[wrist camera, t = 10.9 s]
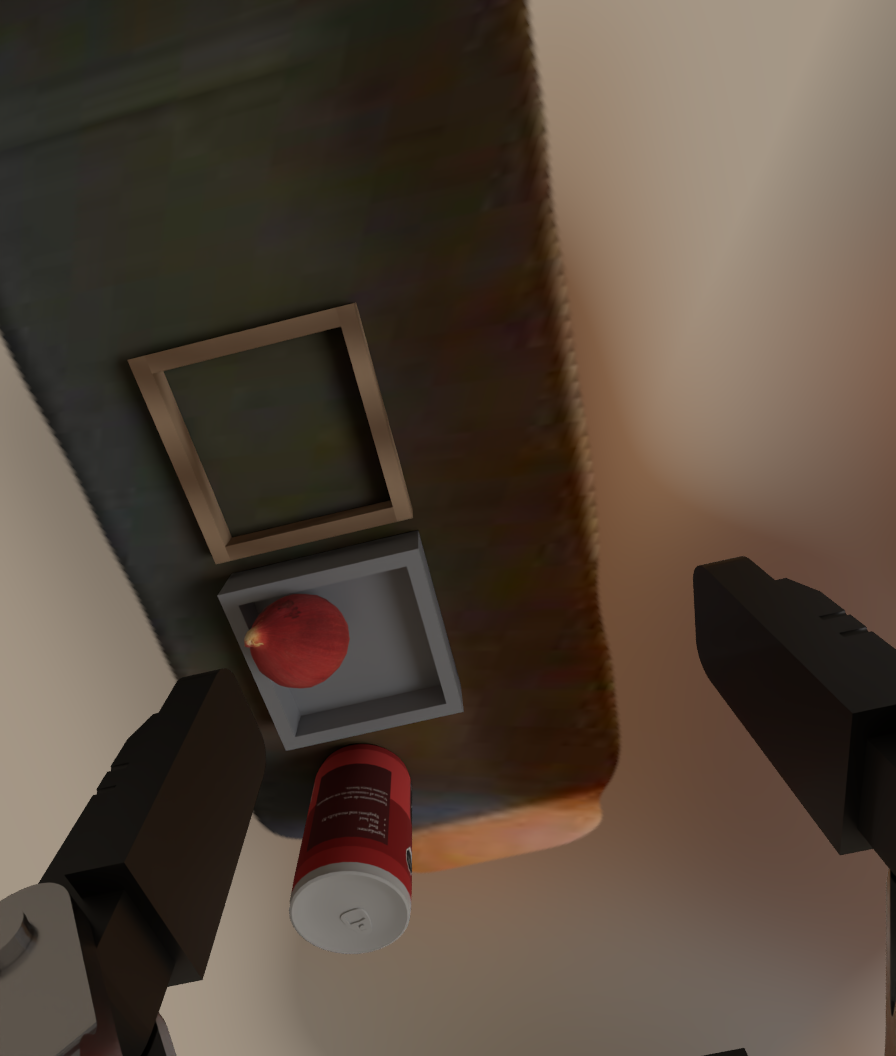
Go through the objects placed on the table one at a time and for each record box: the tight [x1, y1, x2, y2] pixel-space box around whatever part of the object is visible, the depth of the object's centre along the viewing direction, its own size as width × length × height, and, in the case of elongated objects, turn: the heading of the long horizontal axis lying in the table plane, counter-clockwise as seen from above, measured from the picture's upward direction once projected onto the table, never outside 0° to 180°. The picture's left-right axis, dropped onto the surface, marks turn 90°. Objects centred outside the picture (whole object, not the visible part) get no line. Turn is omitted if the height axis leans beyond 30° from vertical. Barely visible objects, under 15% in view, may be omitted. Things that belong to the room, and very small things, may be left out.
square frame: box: [128, 303, 413, 564], centre depth 35 cm, size 13×13×2 cm
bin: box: [217, 530, 464, 751], centre depth 40 cm, size 13×13×3 cm
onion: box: [244, 594, 350, 689], centre depth 36 cm, size 6×6×8 cm
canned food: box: [289, 744, 412, 954], centre depth 41 cm, size 8×8×11 cm
